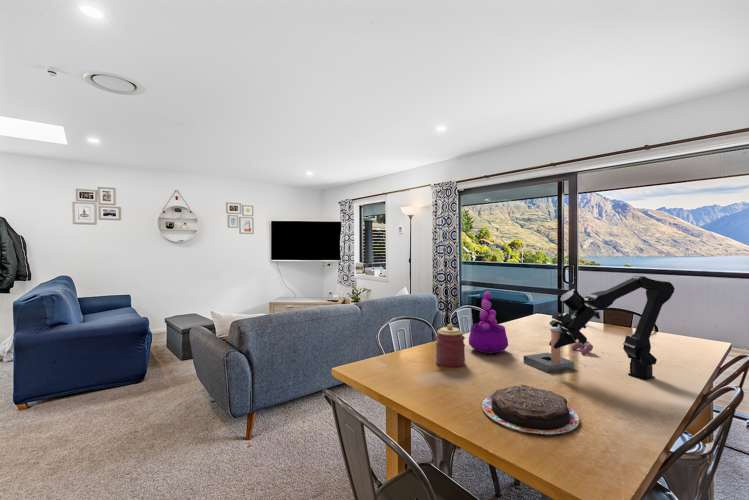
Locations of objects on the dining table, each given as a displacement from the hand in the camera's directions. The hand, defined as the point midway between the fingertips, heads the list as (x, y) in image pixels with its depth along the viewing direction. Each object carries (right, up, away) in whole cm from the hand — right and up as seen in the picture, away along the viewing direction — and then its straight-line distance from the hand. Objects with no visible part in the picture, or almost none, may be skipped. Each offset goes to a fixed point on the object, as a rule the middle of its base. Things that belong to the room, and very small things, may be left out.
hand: (552, 346), depth 140 cm
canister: (-37, -13, +18) cm, 43 cm away
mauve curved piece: (+31, -12, +32) cm, 46 cm away
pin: (+1, -7, 0) cm, 7 cm away
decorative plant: (-14, -12, +35) cm, 40 cm away
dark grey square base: (+5, -12, +13) cm, 19 cm away
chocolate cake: (-23, -13, -30) cm, 40 cm away
